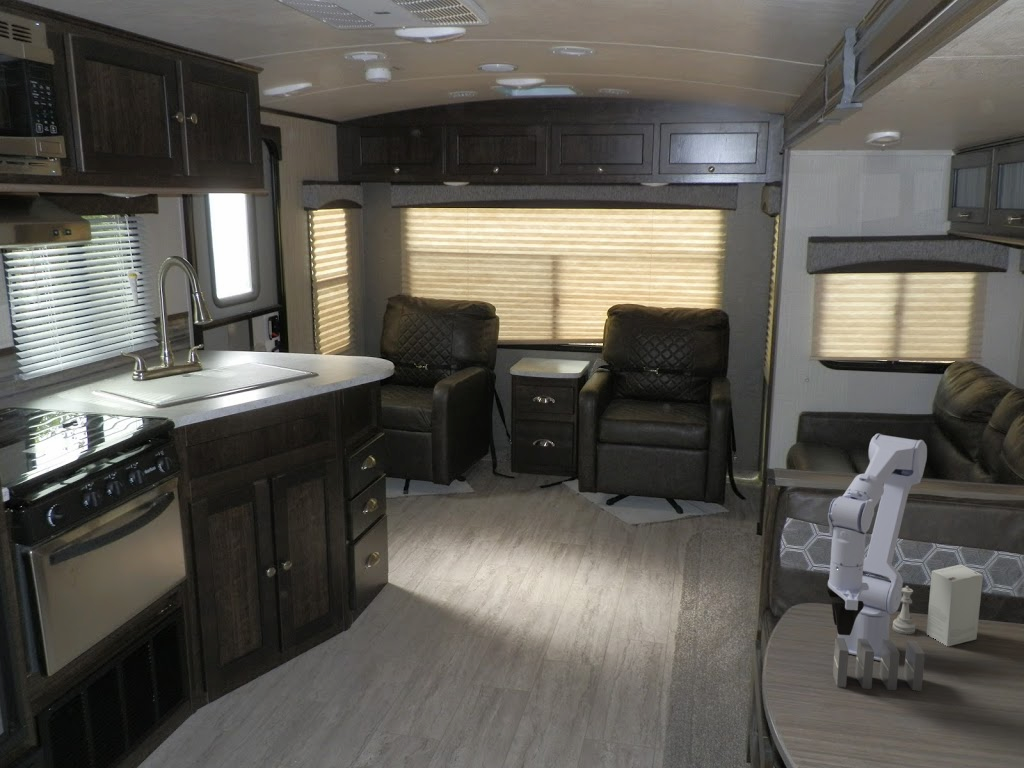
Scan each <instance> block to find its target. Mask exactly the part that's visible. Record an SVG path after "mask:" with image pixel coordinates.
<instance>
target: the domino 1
mask: <svg viewBox="0 0 1024 768" xmlns="http://www.w3.org/2000/svg"><path fill="white" fill-rule="evenodd" d="M848 665H849V650H848V648H847V645H846V642H845V639H844V638H838V637H835V638H834V653H833V667H832V675H833V678H834V682H835V685H836V688H842V687H844V688H845V689H846V688H847V681H848V680H847V679H848ZM844 688H843V689H844Z"/></svg>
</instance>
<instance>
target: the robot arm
mask: <svg viewBox="0 0 1024 768" xmlns="http://www.w3.org/2000/svg"><path fill="white" fill-rule="evenodd" d="M927 447H928V446H927V444H926V443H925V441H924V440H923V439H919V440H918V439H911V438H905V437H897V436H891V435H885V434H882V433H876V434H875V435H874V436H872V437H871V439H870V442H869V446H868V460H869V463H868V466H867V467H866V470H865V471H864V473H860V474H857V475H855V477H854V479H853V480H852V481H851V483H850V485H848V487H847V489H846V490H845V492H844V493H843V495H842V496H838V497H834V498H833V499H832V501H831V502H830V504H829V509H828V513H827V521H828V525H829V536H831V547H830V563H829V577H828V578H829V579H828V580H827V585H826V586H825V588H826V592H827V593H828V596H829V599H830V602H831V610H832V617H833V622H834V626H836V630H837V638H844V639H845V642H846V645H847V648H848V650H849V653H848V655H849V654H850V655H854V656H857V642H858V639H867V641H868V642H869V644H870V645H871V647H872V649H873V650H874V661H879V662H880V661H881V648H882V640H889V637H890V636H889V634H890V625H891V623H890V622H891V615H893V614H894V613H896V612H897V611H898V609H899V608H900V605H901V603H902V602H901V598H902V596H903V593H902V588H903V585H904V579H903V577H902V575H901V574H900V572H899V571H898V570H897V569H896V568H895V567H894V566H893V564H892V563H893V559H894V554H895V551H896V547H897V542H898V539H899V534H900V530H901V524H902V521H903V517H904V513H905V508H906V505H907V500H908V497H909V494H910V491H911V487H912V486H915V485H917V484H920V483H921V481H922V480H921V479H922V478H923V475H924V471H925V467H926V463H927V457H928V448H927ZM878 503H879V505H878V509H877V512H876V517H875V521H874V524H873V525H874V526H873V529H872V534H871V537H870V542H869V546H868V549H867V550H868V551H867V555H866V557H865V550H866V549H865V548H866V535H867V532H869V530H870V527H871V526H872V525H871V524H872V520H873V518H874V515H875V508H876V506H877V504H878Z"/></svg>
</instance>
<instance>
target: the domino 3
mask: <svg viewBox="0 0 1024 768" xmlns="http://www.w3.org/2000/svg"><path fill="white" fill-rule="evenodd" d="M879 662H880V663H879V675H878V676H879V678H880V679H881V682H882V683H883V685H884V686H885V688H886V690H889V691H891V690H892V691H897V685H898V676H899V675H898V674H899V664H900V651H899V650H898V648H897V646H896V645H895V644H894V643H893V640H891V639H888V640H882V648H881V661H879Z"/></svg>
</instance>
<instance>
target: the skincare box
mask: <svg viewBox="0 0 1024 768" xmlns="http://www.w3.org/2000/svg"><path fill="white" fill-rule="evenodd" d="M983 579H984V575H983V574H982V573H980V572H978V571H976V570H974V569H972V568H969V567H968V566H965V565H963V564H957V565H952V566H947V567H943V568H939V569H934V570H931V577H930V589H929V599H928V601H929V602H928V607H927V608H928V611H927V621H926V633H925V634H926V635H927V636H928V635H929V637H930V638H931V639H933V638H934V640H935V639H936V640H935V641H937V642H938V641H939V643H940V642H941V643H940V644H942V643H943V644H944V646H945V645H946V646H945V647H947V646H948V647H951V646H952V647H953V646H955V645H959V644H963V643H967V642H971V641H974V640H977V636H978V628H979V617H980V606H981V599H982V598H981V597H982V590H983V589H982V588H983ZM943 644H942V645H943Z"/></svg>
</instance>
